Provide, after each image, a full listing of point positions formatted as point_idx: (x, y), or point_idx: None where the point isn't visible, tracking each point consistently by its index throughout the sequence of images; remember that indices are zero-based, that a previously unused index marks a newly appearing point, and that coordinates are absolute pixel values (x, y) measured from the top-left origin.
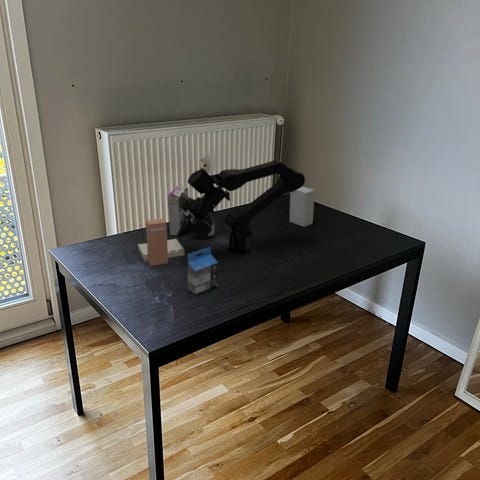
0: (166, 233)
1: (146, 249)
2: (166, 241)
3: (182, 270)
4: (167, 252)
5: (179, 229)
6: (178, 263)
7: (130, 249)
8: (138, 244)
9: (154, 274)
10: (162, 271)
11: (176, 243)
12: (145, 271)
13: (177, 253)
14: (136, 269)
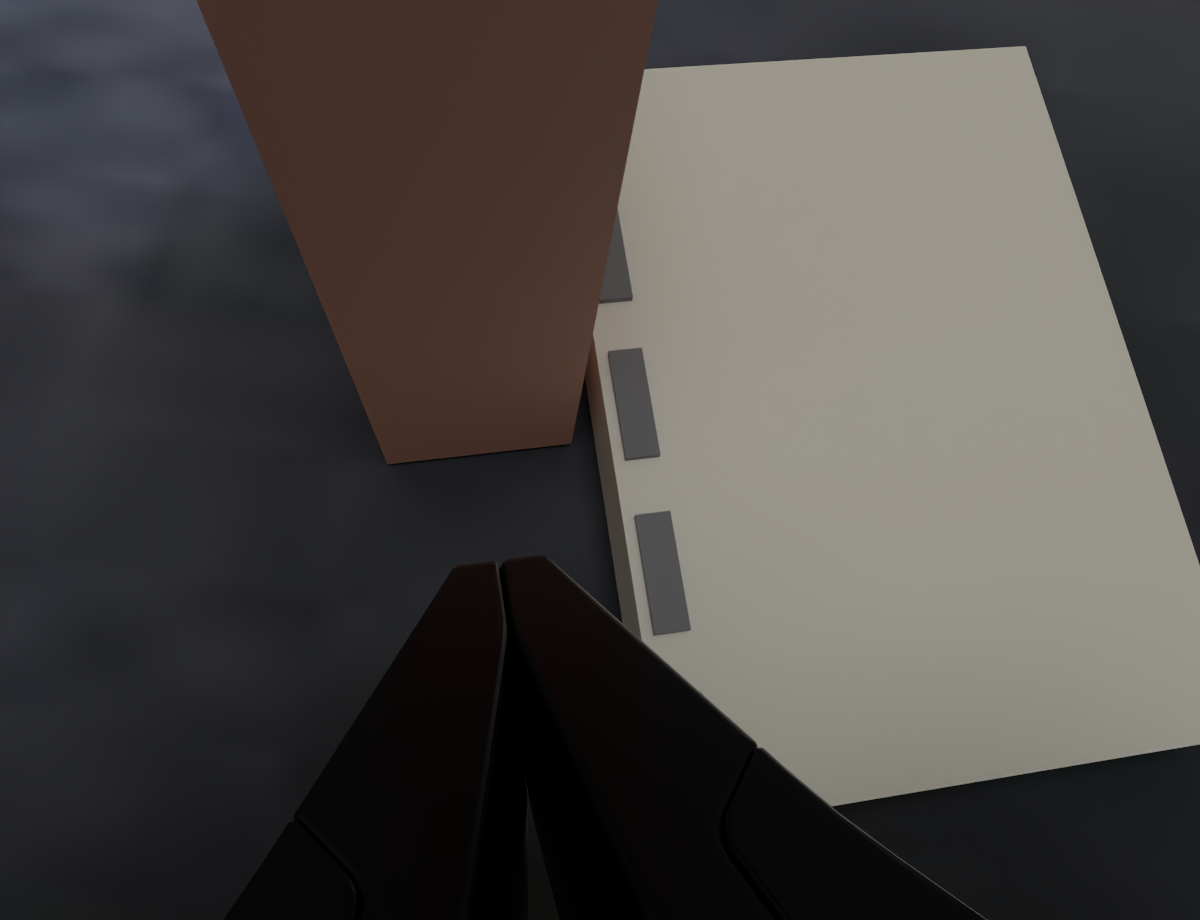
0: (208, 24)
1: (818, 137)
2: (292, 215)
3: (29, 678)
4: (354, 377)
5: (626, 651)
6: (339, 648)
7: (994, 15)
8: (1025, 51)
9: (71, 208)
10: (127, 335)
11: (1024, 703)
12: (222, 105)
13: None
14: None
